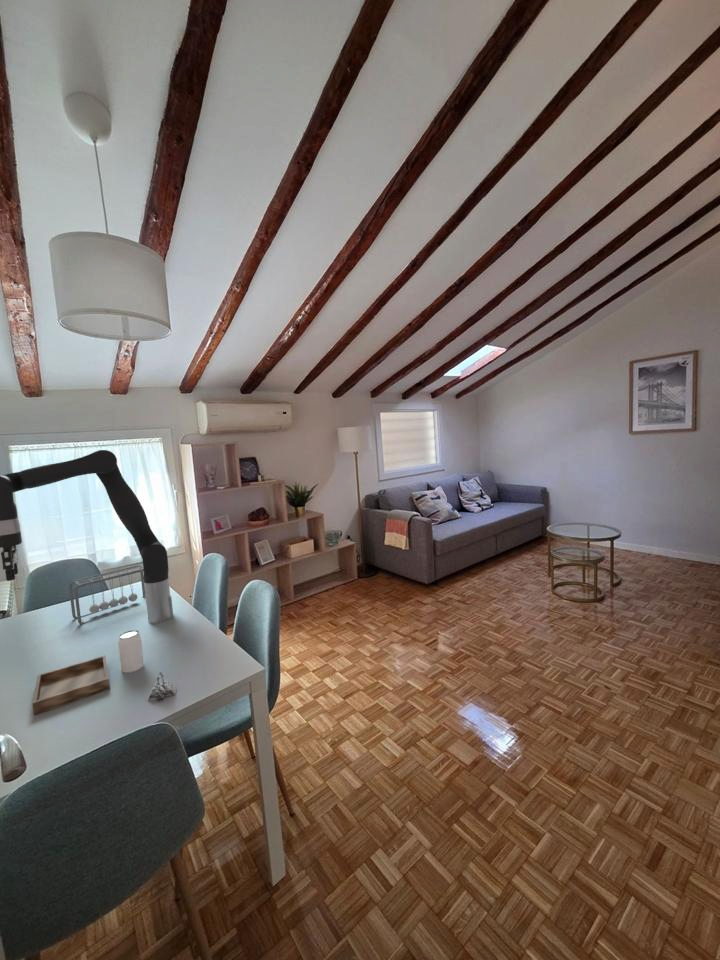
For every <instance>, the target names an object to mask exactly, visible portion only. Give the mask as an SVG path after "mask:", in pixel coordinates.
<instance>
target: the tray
mask: <svg viewBox="0 0 720 960" xmlns="http://www.w3.org/2000/svg"><path fill="white" fill-rule="evenodd" d="M110 688H111V687H110V679H109V672H108V665H107V657H106V655H101V656H98V657H94V658H92V659H91V658H90V659H88V660H84V661H81V662H78V663H75V664H71V665H68V666H64V667H60V668H58V669H54V670H51V671H47V672H44V673H40V674H38V675H37V676H36V682H35V687H34V694H33V697H32V698H33V699H32V703H31V704H32V711H33V716H36V715H39V714H42V713H45V712H48V711H51V710H53V709H57V708H59V707H63V706H65V705H68V704H71V703H74V702H77V701H79V700H82V699H85V698H88V697H91V696H94V695H96V694H100V693H102V692H105V691H107V690H110Z"/></svg>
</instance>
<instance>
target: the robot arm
mask: <svg viewBox="0 0 720 960" xmlns="http://www.w3.org/2000/svg"><path fill="white" fill-rule="evenodd" d="M93 474H96V476H97V478H98V479H99V480H100V482H101V483H102V485H103V486H104V489H105V490H106V493H107V496H108V499H109V501H110V503H111V505H112V508H113V510H114V511H115V513H116V515H117V517H118V518H119V520H120V522H121V523H122V524H123V526H124V527H125V528H126V530H127V531H128V532H129V534H130V535H131V537H132V538H133V540H134V543H135V544H136V547H137V549H138V552H139V555H140V557H141V559H142V568H143V569H144V571H143V577H144V586H145V603H146V611H147V614H146V615H147V619H148V620H147V621H148V623H149V624H152V625H153V624H161V623H164V622H167V621H169V620H171V619H174V611H173V610H174V608H173V600H172V596H171V589H170V580H169V579H170V578H169V559H168V551H167V548H166V547H165V546H164V544H162V543H161V542H160V540H159V539H158V538H157V536H156V535H155V534H154V532H153V530H152V529H151V526H150V524H149V520H148V517H147V515H146V512H145V510H144V507H143V506H142V504H141V501H140V500H139V498H138V497H137V495H136V494H135V492H134V491H133V489H132V488H131V487H130V486H129V484H128V483H127V481H125V479H124V476H123V475H122V473H121V471H120V468H119V466H118V459H117V456H116V455H115V454H114V453H113V452H112V451H111V450H108V449H97V450H95V451H93V452H91V453H89V454H87V455H84V456H81V457H78V458H74V459H70V460H66V461H60V462H54V463H50V464H44V465H39V466H34V467H30V468H26V469H24V470H21V471H16V472H9V473H5V474H1V475H0V549H1V548H2V550H1V552H0V556H1V563H2V569H3V571H5V578H6V581H8V582H9V581H14V580H15V579H16V576H15V575H18V573H19V568H18V562H19V561H18V560H19V558H18V548H17V546H19V545H21V544H22V543H23V540H22V539H23V538H22V532H21V525H20V521H19V517H18V509H17V505H16V504H15V501H14V493H16V492H19V491H24V490H26V489H35V488H39V487H42V486H47V485H51V484H55V483H57V482H58V483H59V482H61V481H63V480H64V481H65V480H68V479H71V478H75V477H79V476H84V475H93Z"/></svg>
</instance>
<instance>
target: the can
mask: <svg viewBox="0 0 720 960" xmlns="http://www.w3.org/2000/svg"><path fill="white" fill-rule="evenodd" d="M118 637H119V639H118V640H117V642H118V643H117V644H118V652H119V661H120V670H121V673H123V672H125V673H124V674H128V673H127V672H130V673H133V672H132V671H134V672H136V671H138V670H140V669H142V668H143V667H144V654H143V646H142V644H143V643H142V637H141V634H140V632H139V630H136V629H133V630H132V629H131V630H127V631H125V632H123V633H120V634H119V636H118Z"/></svg>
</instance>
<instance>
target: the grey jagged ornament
mask: <svg viewBox="0 0 720 960" xmlns="http://www.w3.org/2000/svg"><path fill="white" fill-rule="evenodd" d="M159 675H160V676H159ZM164 677H165V675H164V674H163V673H162V672H161V671H159V673H158V676H157V677H156V681H157V682H155V683H154V686H153V687H152V688H151V690H150V692H149V694H148V696H147V702H149V701H154V700H157V702H158V701H159V699H162V700H164V699H165V698H167V697H172V696H173V697H174V696H175V695H176V693H177V687H175V686H174V685H173V684H172V683H170V681H165V680H164V679H165V678H164ZM159 680H161V681H162V682H161V681H159Z"/></svg>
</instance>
